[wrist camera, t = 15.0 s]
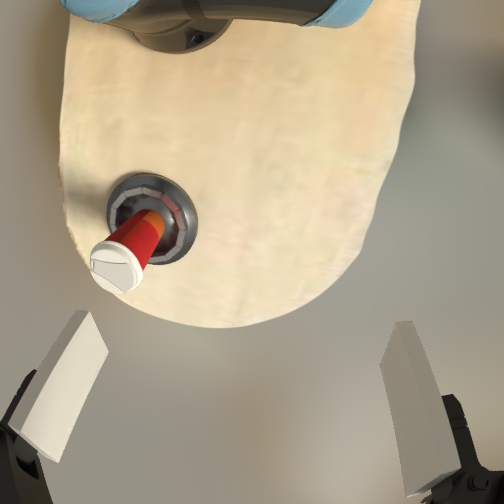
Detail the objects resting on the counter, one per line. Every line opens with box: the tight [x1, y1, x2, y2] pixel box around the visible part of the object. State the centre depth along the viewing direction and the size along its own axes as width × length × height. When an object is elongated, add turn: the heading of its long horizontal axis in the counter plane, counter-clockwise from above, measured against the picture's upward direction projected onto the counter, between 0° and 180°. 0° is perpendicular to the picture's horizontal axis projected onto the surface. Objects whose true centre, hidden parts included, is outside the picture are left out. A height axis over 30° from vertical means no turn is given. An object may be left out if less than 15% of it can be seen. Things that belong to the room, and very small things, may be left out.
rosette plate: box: [107, 174, 198, 265], centre depth 47 cm, size 16×16×3 cm
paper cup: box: [90, 209, 165, 294], centre depth 41 cm, size 8×8×14 cm
